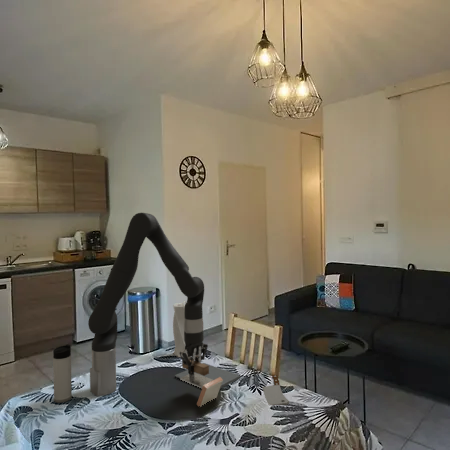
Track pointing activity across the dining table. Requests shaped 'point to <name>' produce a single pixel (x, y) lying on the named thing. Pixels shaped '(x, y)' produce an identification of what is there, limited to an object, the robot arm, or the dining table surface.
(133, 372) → the dining table surface
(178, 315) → the skyscraper
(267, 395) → the kitchen cleaver
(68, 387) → the travel mug
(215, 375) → the mat
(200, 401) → the tile
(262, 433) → the dining table surface
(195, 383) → the plastering trowel
